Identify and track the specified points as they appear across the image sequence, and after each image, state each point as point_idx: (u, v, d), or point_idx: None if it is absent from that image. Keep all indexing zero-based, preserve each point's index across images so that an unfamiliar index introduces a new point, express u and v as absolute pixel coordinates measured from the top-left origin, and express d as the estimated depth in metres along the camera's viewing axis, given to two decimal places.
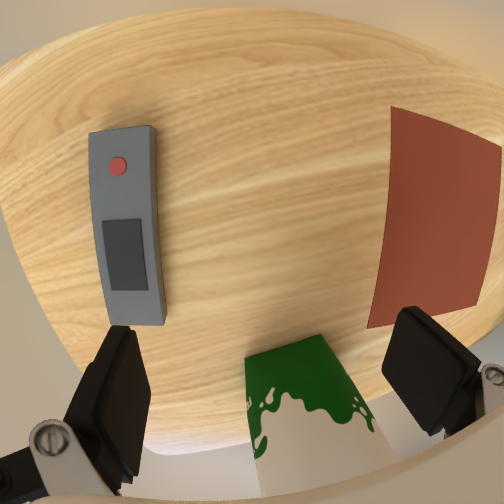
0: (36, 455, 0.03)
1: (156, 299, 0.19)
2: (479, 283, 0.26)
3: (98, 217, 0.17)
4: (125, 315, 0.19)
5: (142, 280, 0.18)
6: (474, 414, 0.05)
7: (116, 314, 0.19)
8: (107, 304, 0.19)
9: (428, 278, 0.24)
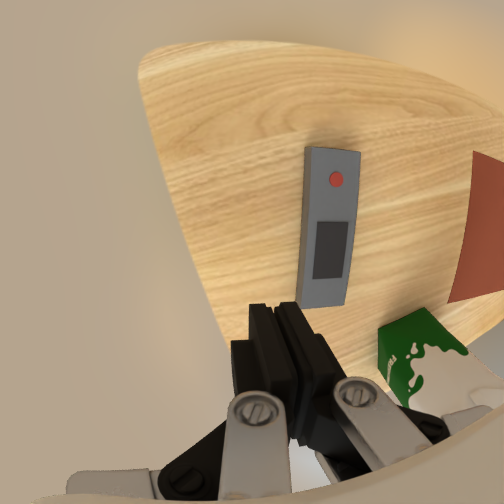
0: (249, 430, 0.05)
1: (345, 284, 0.25)
2: None
3: (314, 218, 0.22)
4: (316, 299, 0.25)
5: (340, 269, 0.24)
6: (329, 433, 0.06)
7: (309, 300, 0.25)
8: (304, 291, 0.24)
9: (482, 267, 0.30)
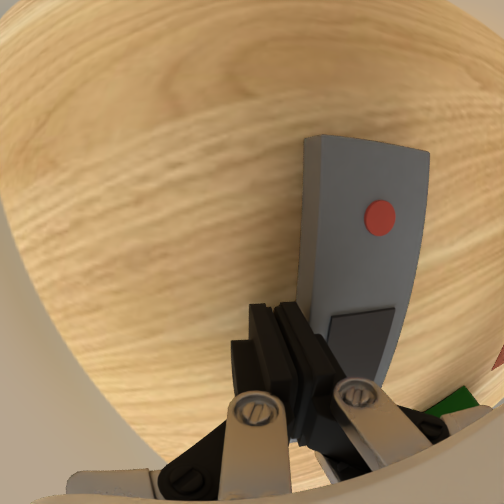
0: (249, 430, 0.05)
1: None
2: None
3: (324, 310, 0.09)
4: None
5: None
6: (330, 433, 0.06)
7: None
8: None
9: None
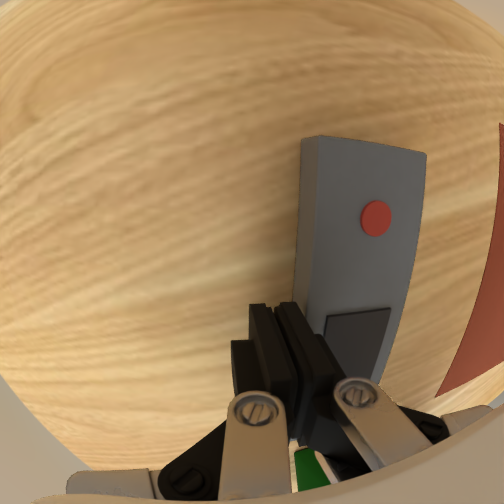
0: (249, 430, 0.05)
1: None
2: None
3: (320, 309, 0.10)
4: None
5: None
6: (330, 433, 0.06)
7: None
8: None
9: (500, 330, 0.16)
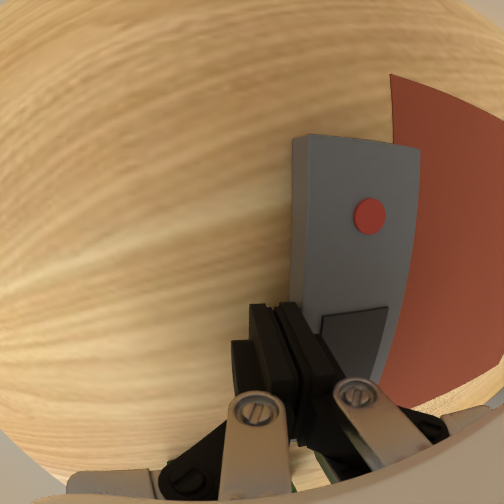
0: (249, 430, 0.05)
1: None
2: None
3: (316, 309, 0.09)
4: None
5: None
6: (329, 434, 0.06)
7: None
8: None
9: (441, 355, 0.14)
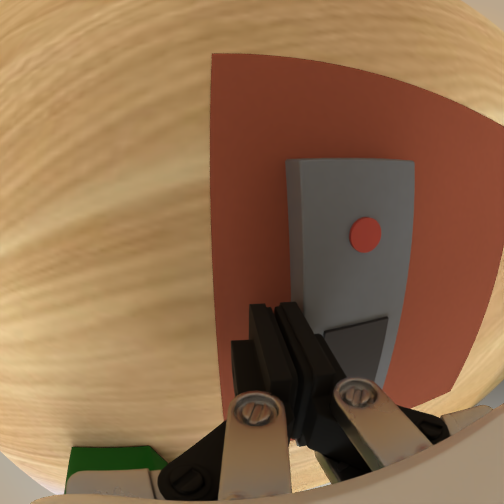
0: (249, 430, 0.05)
1: None
2: (458, 365, 0.15)
3: (317, 326, 0.10)
4: None
5: None
6: (330, 433, 0.06)
7: None
8: None
9: None
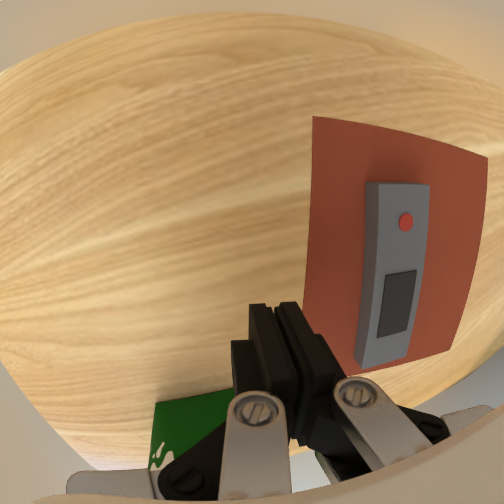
0: (249, 430, 0.05)
1: (408, 336, 0.19)
2: (453, 326, 0.22)
3: (382, 272, 0.17)
4: (379, 357, 0.19)
5: (405, 322, 0.19)
6: (330, 433, 0.06)
7: (371, 359, 0.19)
8: (366, 352, 0.19)
9: None
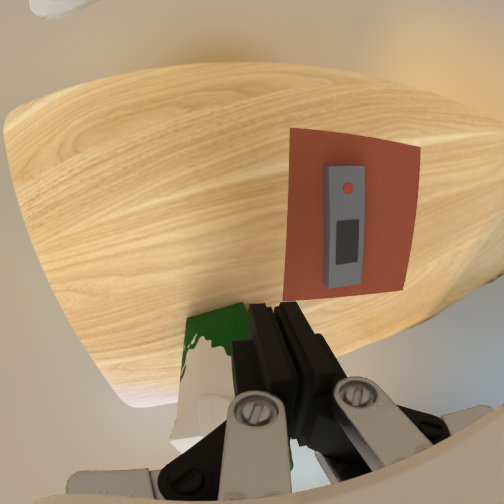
0: (249, 430, 0.05)
1: (360, 267, 0.32)
2: (402, 270, 0.35)
3: (334, 219, 0.30)
4: (340, 280, 0.32)
5: (355, 255, 0.31)
6: (330, 433, 0.06)
7: (334, 281, 0.32)
8: (330, 274, 0.32)
9: None
